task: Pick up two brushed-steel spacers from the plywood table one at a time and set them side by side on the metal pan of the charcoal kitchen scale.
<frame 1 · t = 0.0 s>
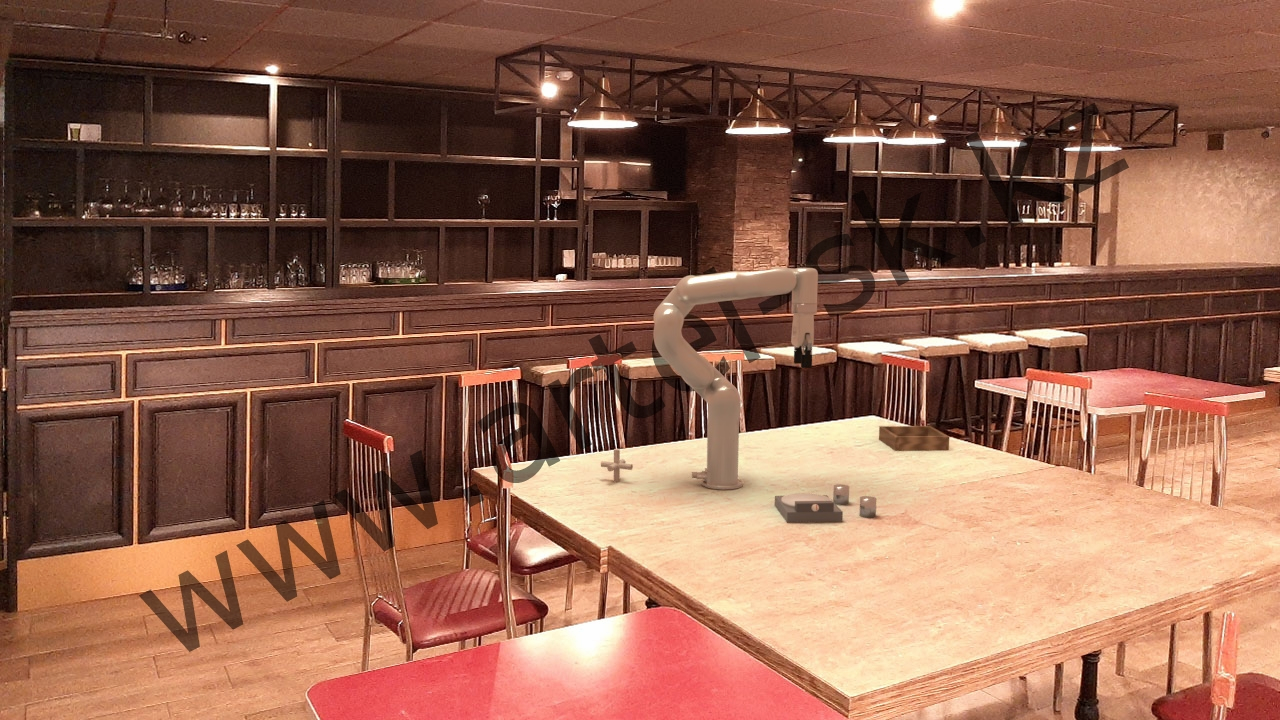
hand: (802, 365, 311), 37 cm above the table, tool pointing down, fingers open, 9 cm apart
brown wooden tray: (912, 444, 374), on the table
pipe connector: (616, 481, 318), on the table
scale: (807, 513, 284), on the table
spacer 2: (867, 515, 282), on the table
spacer 1: (840, 503, 294), on the table
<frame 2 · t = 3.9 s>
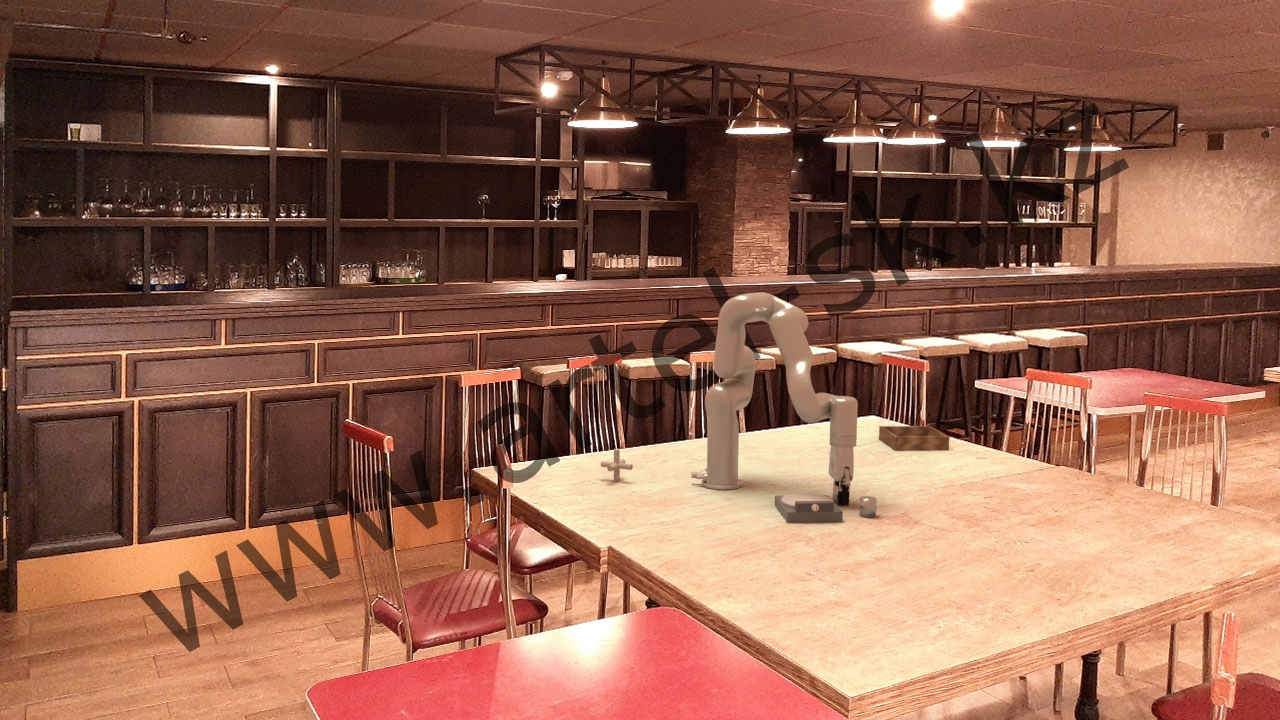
hand: (840, 501, 294), 0 cm above the table, tool pointing down, fingers closed on spacer 1, 4 cm apart
spacer 1: (840, 503, 294), on the table, touching gripper
everything else where it was.
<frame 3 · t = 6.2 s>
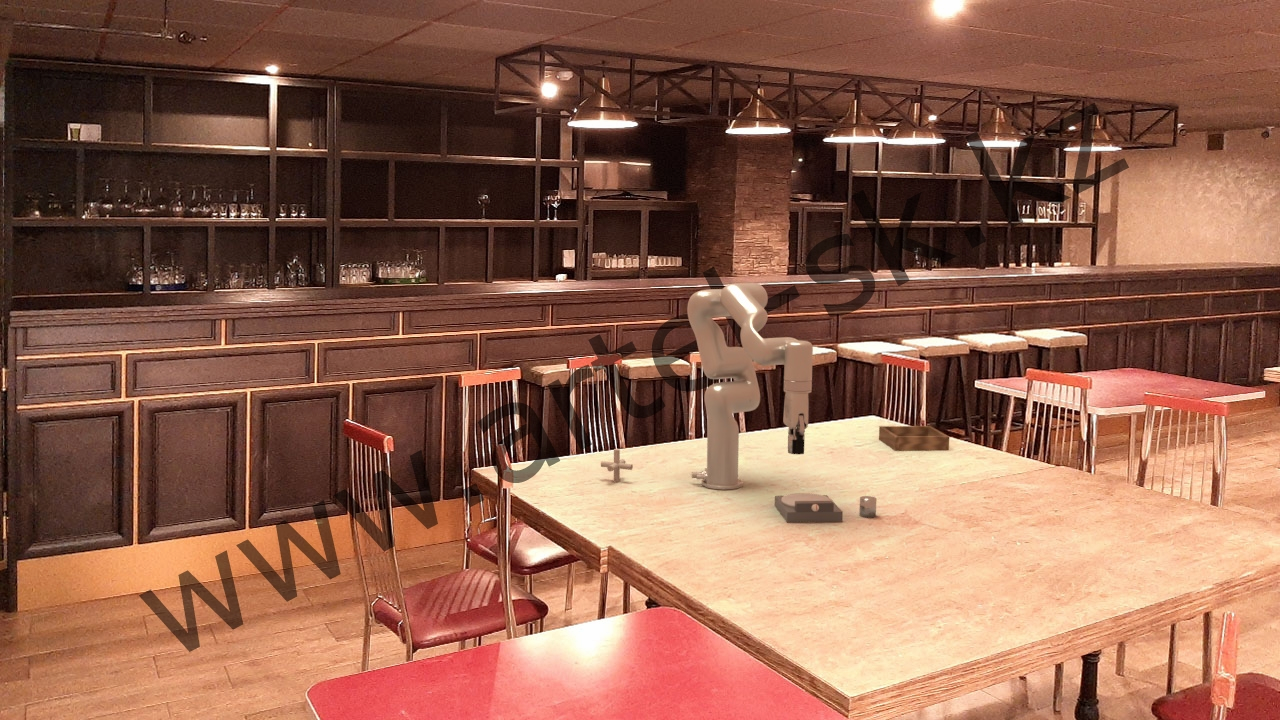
hand: (795, 451, 282), 17 cm above the table, tool pointing down, fingers closed on spacer 1, 4 cm apart
spacer 1: (795, 452, 283), point 17 cm above the table, touching gripper
everything else where it was.
when the fingers open (5 cm above the table, at t = 8.9 s): spacer 1 drops 1 cm, resting on scale.
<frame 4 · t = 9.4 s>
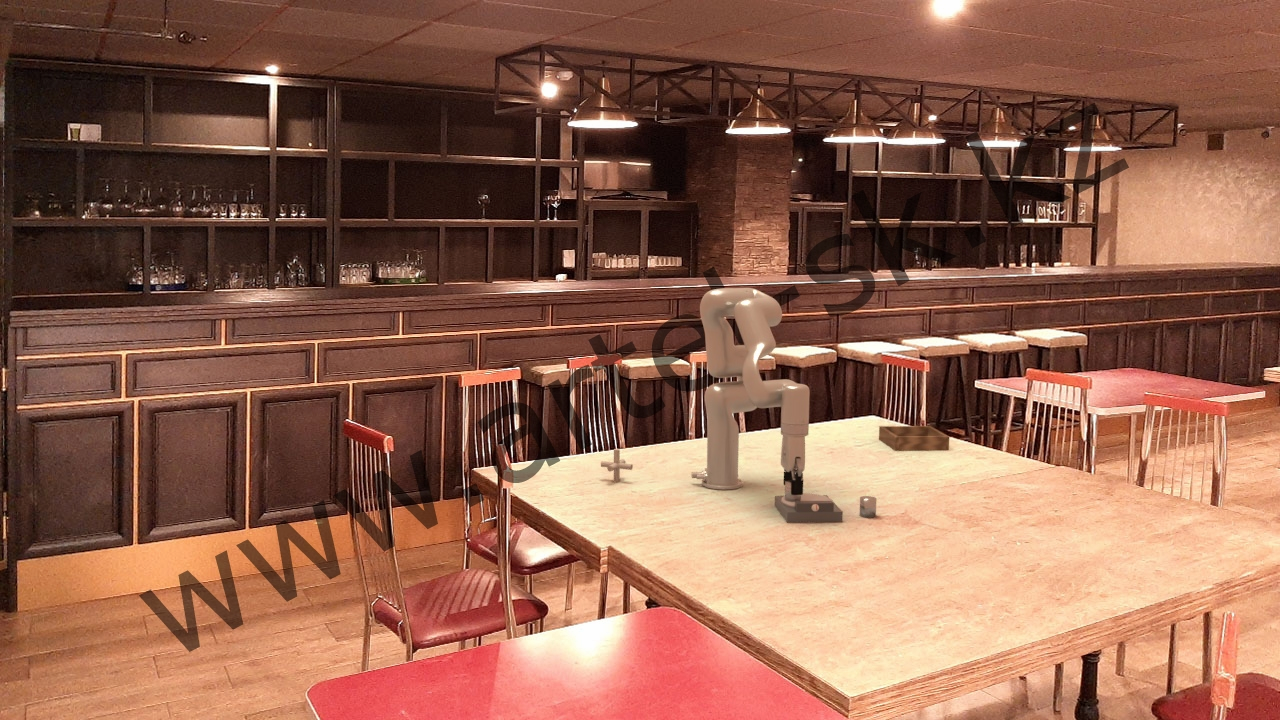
hand: (793, 490, 283), 6 cm above the table, tool pointing down, fingers open, 9 cm apart
spacer 1: (792, 499, 284), point 4 cm above the table, touching scale
everything else where it was.
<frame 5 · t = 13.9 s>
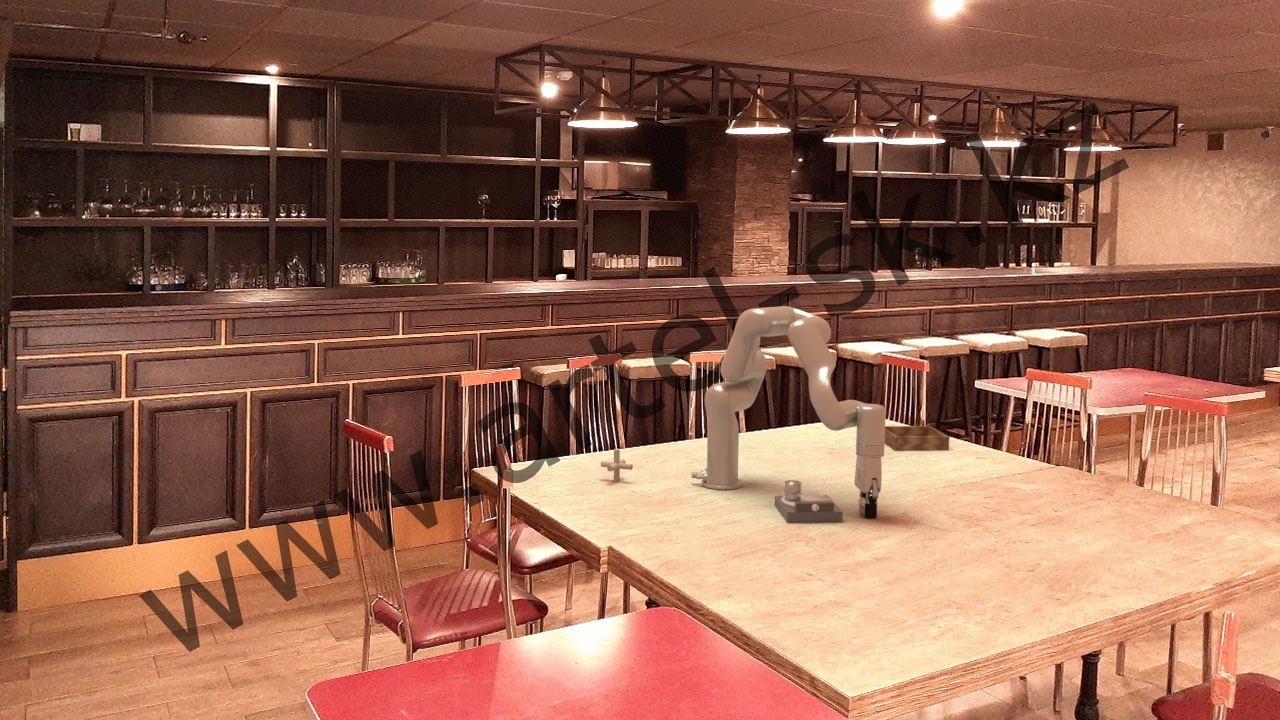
hand: (867, 514, 282), 0 cm above the table, tool pointing down, fingers closed on spacer 2, 4 cm apart
spacer 2: (867, 515, 282), on the table, touching gripper
everything else where it was.
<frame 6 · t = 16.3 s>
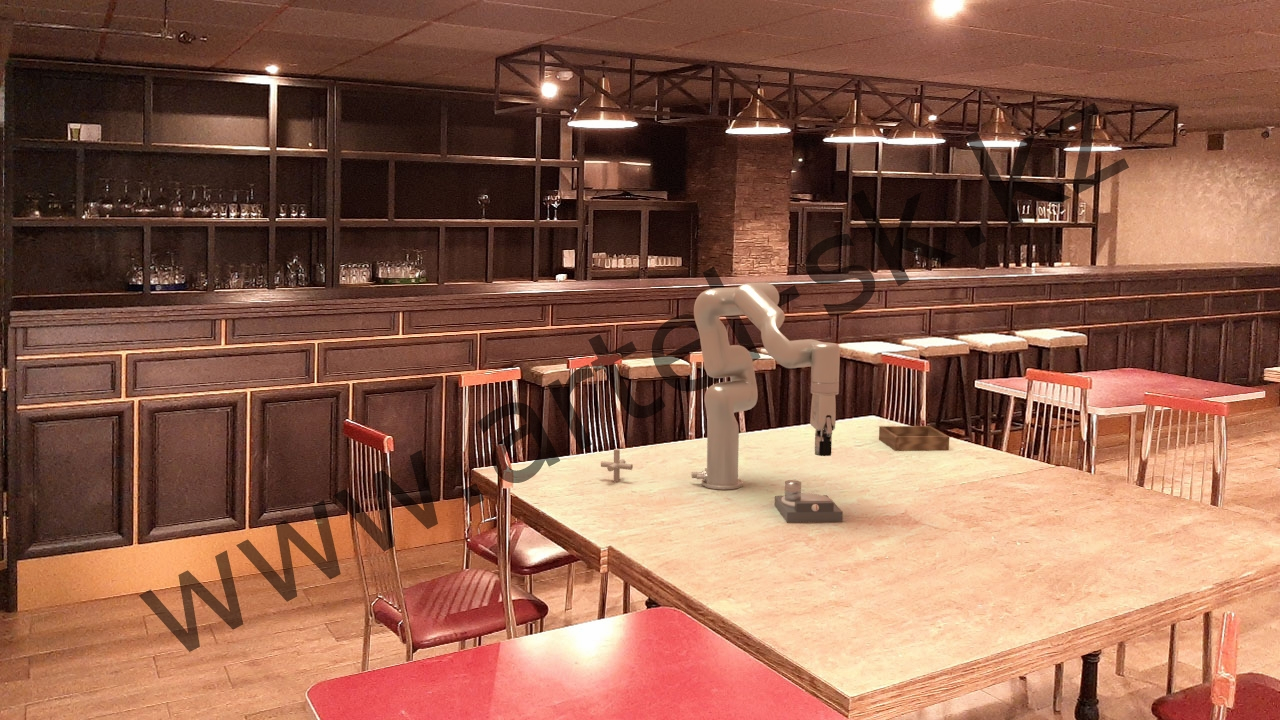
hand: (822, 452, 283), 17 cm above the table, tool pointing down, fingers closed on spacer 2, 4 cm apart
spacer 2: (822, 454, 283), point 16 cm above the table, touching gripper
everything else where it was.
when the fingers open (5 cm above the table, at t = 18.6 s): spacer 2 drops 1 cm, resting on scale.
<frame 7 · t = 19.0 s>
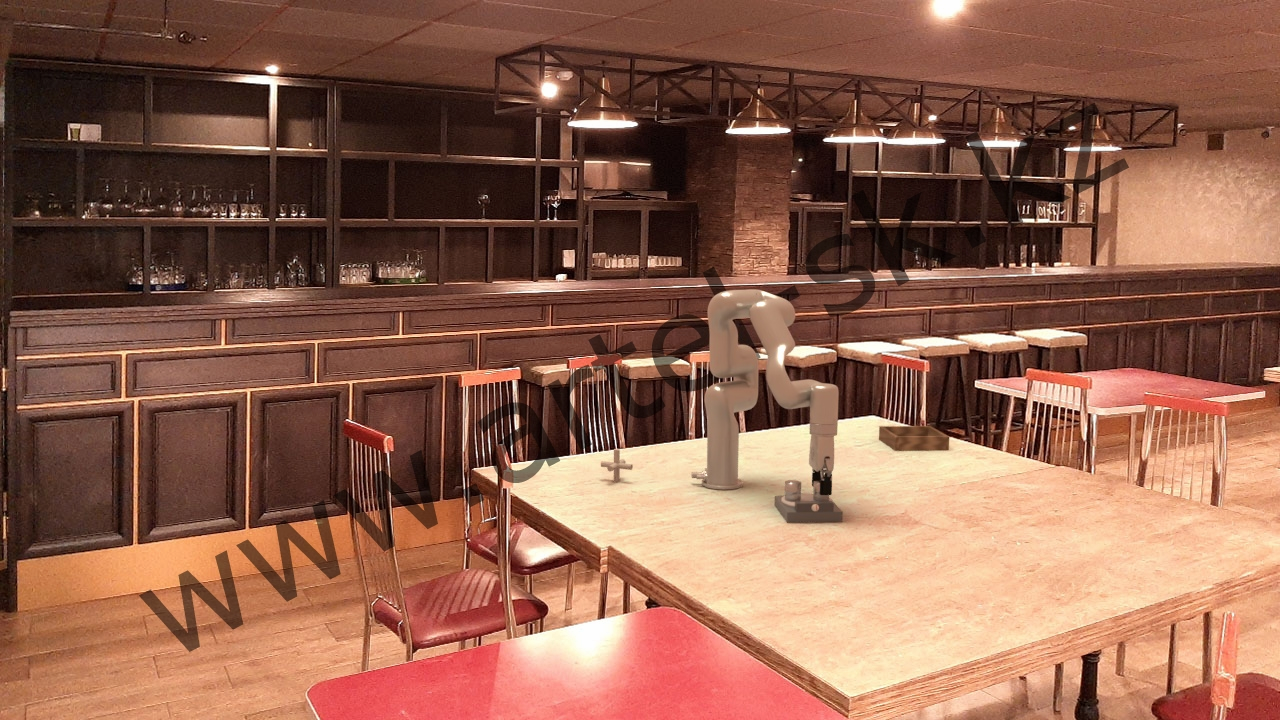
hand: (821, 490, 284), 6 cm above the table, tool pointing down, fingers open, 8 cm apart
spacer 2: (821, 499, 284), point 4 cm above the table, touching scale
everything else where it was.
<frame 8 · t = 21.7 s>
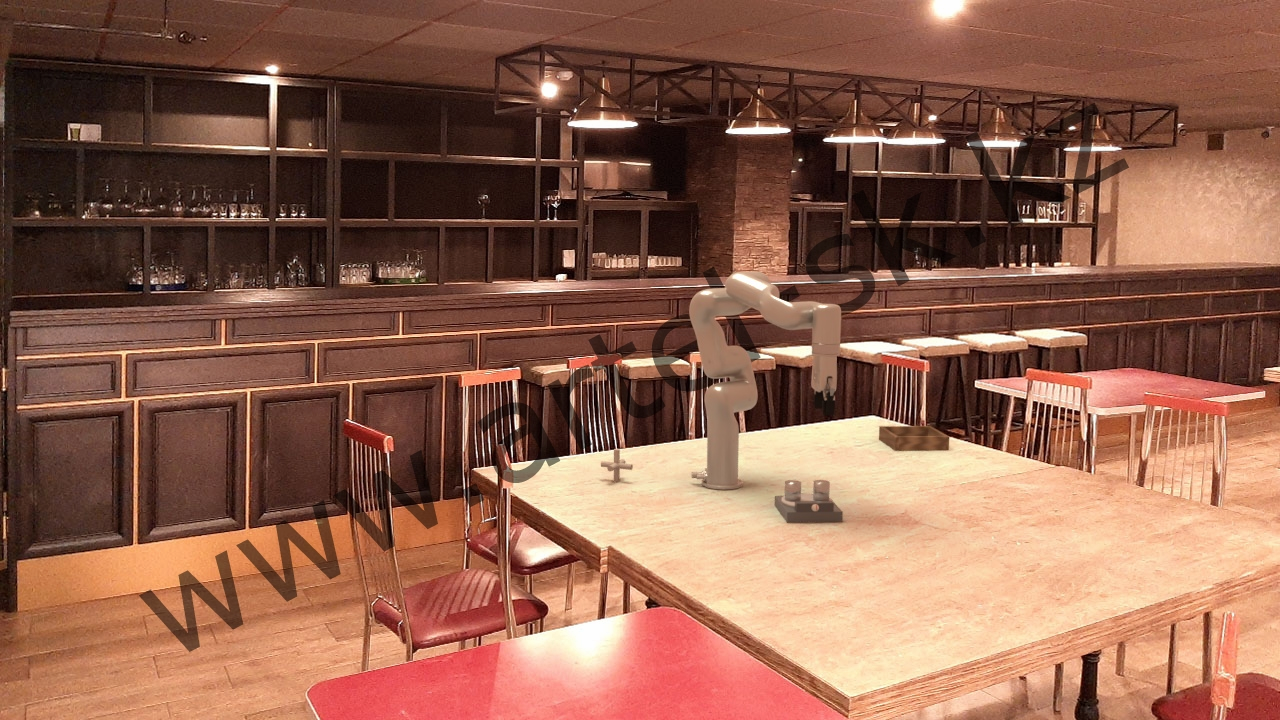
hand: (823, 411, 281), 28 cm above the table, tool pointing down, fingers open, 9 cm apart
nothing on the table moved.
at the end: spacer 1 inside the target area on the scale (4.0 cm from its centre), point 3.6 cm above the scale's base; spacer 2 inside the target area on the scale (4.0 cm from its centre), point 3.6 cm above the scale's base; spacer 2 tilted 0° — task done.
